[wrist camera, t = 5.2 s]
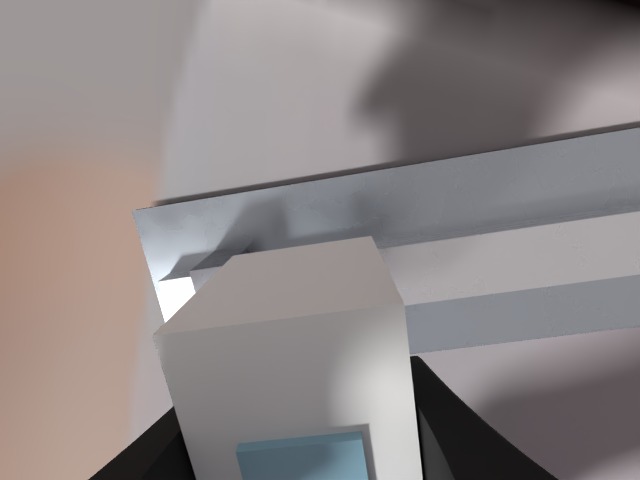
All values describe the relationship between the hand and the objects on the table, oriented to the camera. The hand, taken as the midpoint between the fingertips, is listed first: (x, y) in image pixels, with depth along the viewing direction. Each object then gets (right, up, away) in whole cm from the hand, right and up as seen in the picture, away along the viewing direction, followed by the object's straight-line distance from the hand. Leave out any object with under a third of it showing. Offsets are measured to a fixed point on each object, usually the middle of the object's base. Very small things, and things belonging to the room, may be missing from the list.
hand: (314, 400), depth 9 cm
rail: (+4, +3, +8) cm, 10 cm away
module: (0, +1, +3) cm, 3 cm away
